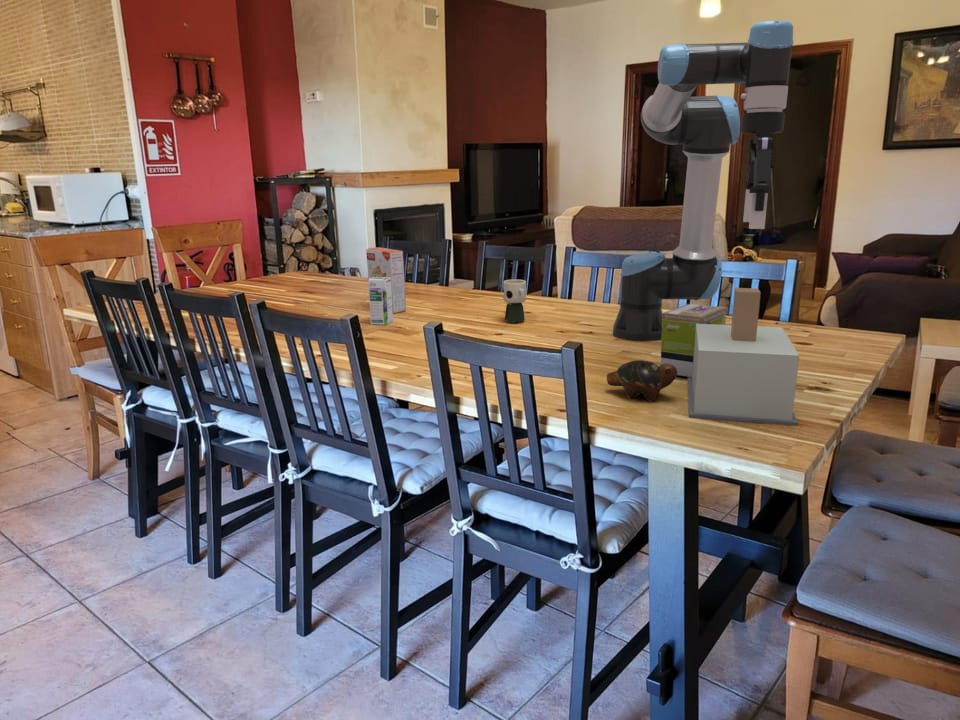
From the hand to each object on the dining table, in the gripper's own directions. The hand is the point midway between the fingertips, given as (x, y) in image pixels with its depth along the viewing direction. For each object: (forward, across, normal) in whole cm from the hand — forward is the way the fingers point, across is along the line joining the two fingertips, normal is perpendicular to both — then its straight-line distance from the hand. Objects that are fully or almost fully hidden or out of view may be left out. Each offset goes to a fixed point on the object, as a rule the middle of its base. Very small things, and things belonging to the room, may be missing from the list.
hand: (753, 225), depth 138 cm
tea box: (+36, -19, -9) cm, 42 cm away
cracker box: (+37, -70, -109) cm, 135 cm away
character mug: (+37, -61, -62) cm, 94 cm away
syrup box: (+37, -50, -103) cm, 121 cm away
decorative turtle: (+37, +2, -20) cm, 42 cm away
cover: (+36, +1, 0) cm, 36 cm away
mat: (+36, +1, 0) cm, 36 cm away
